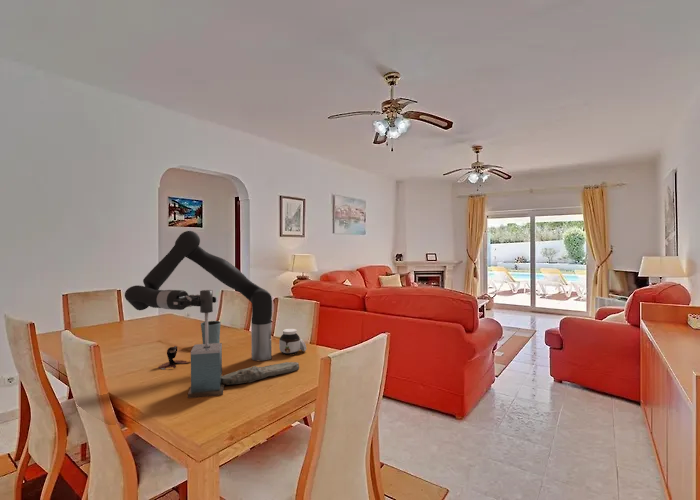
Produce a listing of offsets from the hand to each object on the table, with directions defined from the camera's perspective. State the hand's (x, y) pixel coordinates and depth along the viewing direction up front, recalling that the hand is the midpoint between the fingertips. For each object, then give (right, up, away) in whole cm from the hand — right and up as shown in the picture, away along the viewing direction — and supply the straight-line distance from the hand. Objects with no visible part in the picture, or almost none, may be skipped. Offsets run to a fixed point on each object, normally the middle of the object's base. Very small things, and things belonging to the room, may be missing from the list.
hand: (208, 301), depth 145 cm
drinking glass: (-22, -32, +64) cm, 75 cm away
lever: (-1, -21, +1) cm, 21 cm away
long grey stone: (+16, -34, +16) cm, 41 cm away
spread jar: (+25, -33, +50) cm, 65 cm away
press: (-1, -34, +1) cm, 34 cm away
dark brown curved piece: (-26, -33, +31) cm, 53 cm away
